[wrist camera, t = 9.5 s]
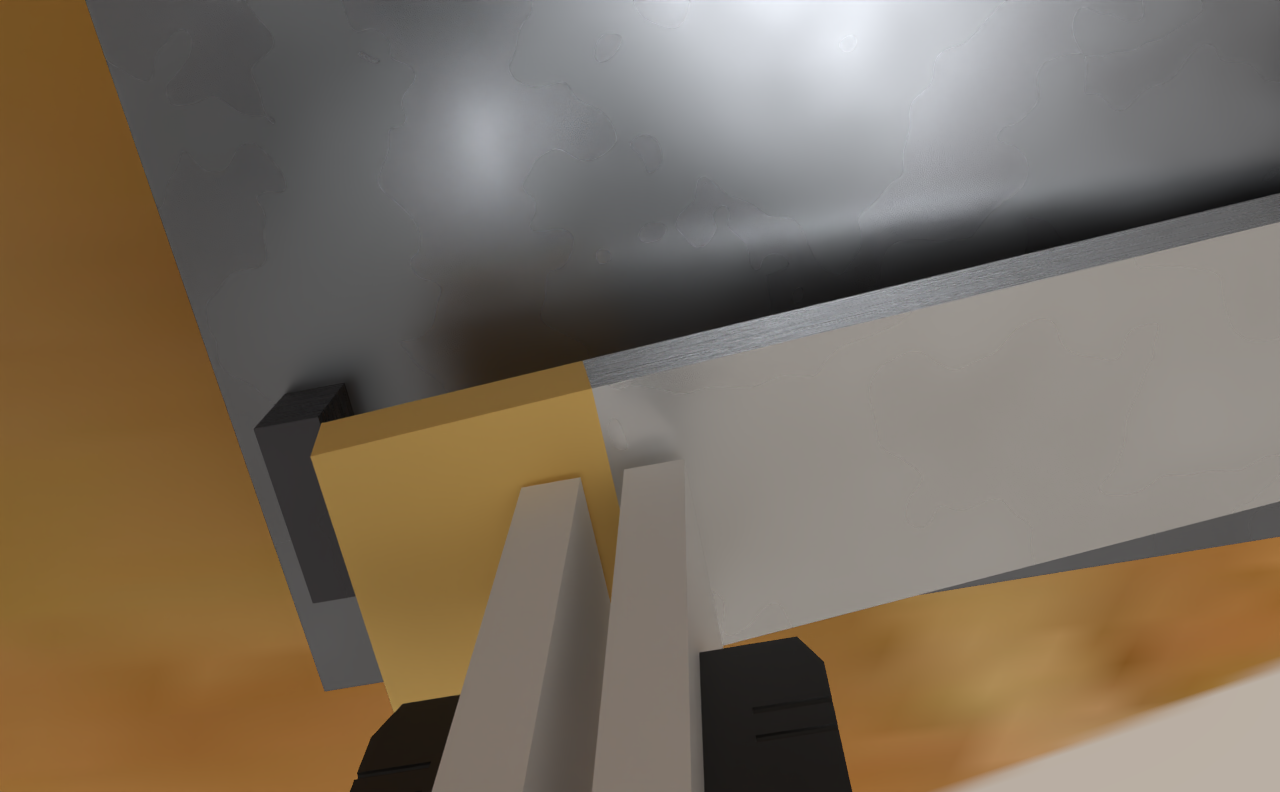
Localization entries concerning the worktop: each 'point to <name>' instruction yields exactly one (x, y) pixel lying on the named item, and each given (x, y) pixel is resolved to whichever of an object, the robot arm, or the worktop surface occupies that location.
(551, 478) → the strap
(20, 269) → the worktop surface
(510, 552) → the robot arm
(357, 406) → the clamp block
